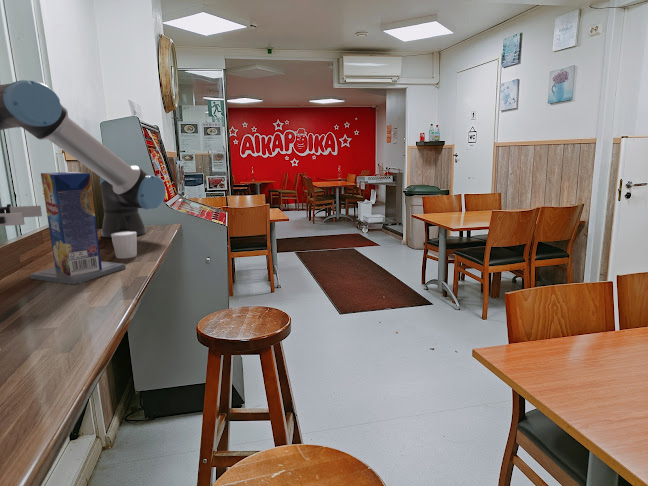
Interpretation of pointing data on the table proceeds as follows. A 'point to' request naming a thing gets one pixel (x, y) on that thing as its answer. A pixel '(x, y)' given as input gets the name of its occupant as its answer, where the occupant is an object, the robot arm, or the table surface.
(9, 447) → the table surface
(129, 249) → the white cup
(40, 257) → the table surface
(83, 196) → the juice carton
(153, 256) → the table surface
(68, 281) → the slate board
